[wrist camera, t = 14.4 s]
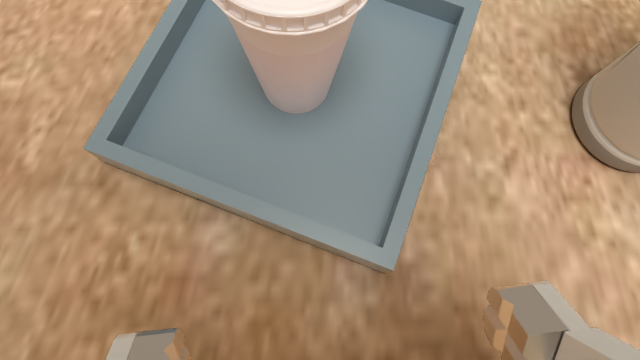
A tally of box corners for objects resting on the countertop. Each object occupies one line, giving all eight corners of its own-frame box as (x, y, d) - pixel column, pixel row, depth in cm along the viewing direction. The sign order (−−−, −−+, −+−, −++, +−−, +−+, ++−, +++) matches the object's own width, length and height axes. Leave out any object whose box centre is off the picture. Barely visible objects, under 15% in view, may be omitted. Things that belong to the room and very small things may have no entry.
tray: (106, 163, 22) (82, 148, 19) (230, -54, 26) (223, -87, 24) (384, 273, 20) (393, 270, 18) (466, 27, 25) (481, 1, 22)
